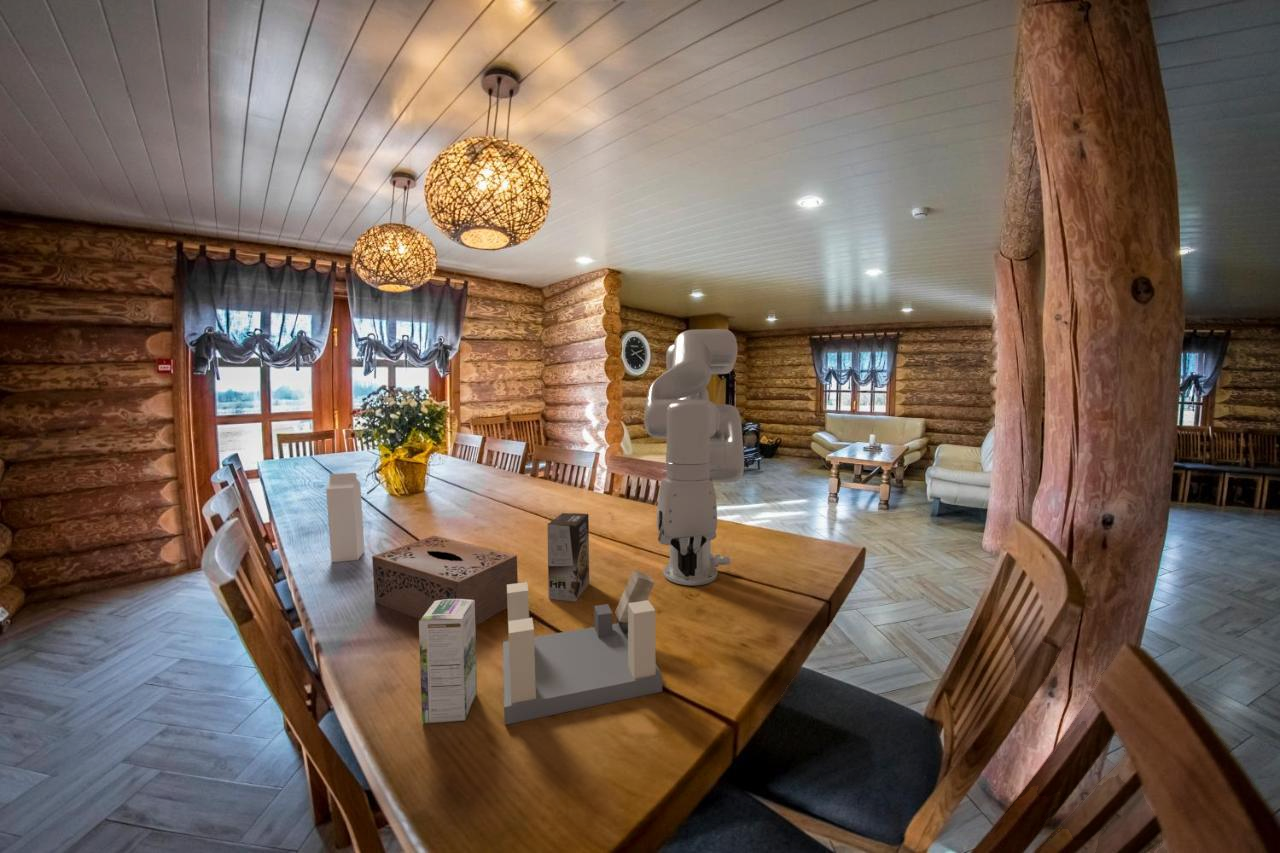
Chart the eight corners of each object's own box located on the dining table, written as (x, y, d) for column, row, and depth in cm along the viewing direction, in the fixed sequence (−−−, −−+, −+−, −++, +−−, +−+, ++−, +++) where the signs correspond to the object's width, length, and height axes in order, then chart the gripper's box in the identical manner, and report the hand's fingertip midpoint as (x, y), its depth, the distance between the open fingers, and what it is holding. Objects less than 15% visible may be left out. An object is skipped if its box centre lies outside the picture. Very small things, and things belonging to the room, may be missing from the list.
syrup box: (436, 695, 66) (432, 599, 65) (478, 693, 67) (475, 597, 65) (421, 724, 61) (415, 619, 59) (467, 721, 61) (463, 617, 60)
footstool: (631, 634, 82) (631, 567, 81) (662, 691, 67) (662, 610, 66) (503, 656, 76) (500, 584, 75) (504, 724, 61) (501, 636, 59)
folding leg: (627, 624, 82) (648, 574, 82) (632, 635, 78) (655, 583, 78) (611, 619, 81) (632, 569, 81) (616, 630, 77) (638, 577, 78)
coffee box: (577, 602, 94) (575, 525, 93) (547, 599, 96) (545, 523, 94) (590, 583, 103) (589, 513, 102) (563, 581, 105) (562, 511, 103)
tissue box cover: (375, 603, 95) (372, 556, 94) (436, 577, 108) (434, 535, 107) (460, 636, 83) (458, 582, 82) (518, 602, 95) (516, 555, 94)
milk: (357, 560, 117) (352, 475, 115) (330, 562, 116) (324, 476, 114) (365, 551, 123) (360, 470, 121) (339, 554, 122) (333, 471, 119)
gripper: (716, 466, 87) (715, 561, 88) (640, 470, 82) (641, 570, 84) (736, 473, 79) (735, 576, 81) (654, 478, 75) (654, 587, 76)
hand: (687, 573), depth 82 cm, fingers closed
